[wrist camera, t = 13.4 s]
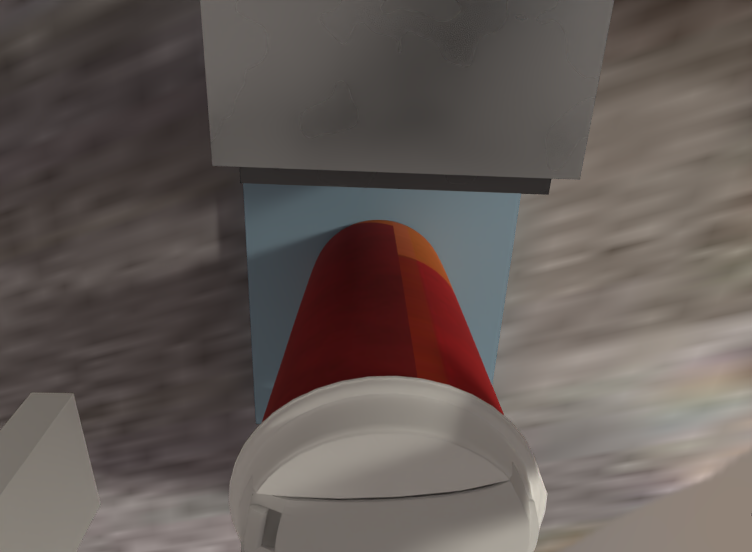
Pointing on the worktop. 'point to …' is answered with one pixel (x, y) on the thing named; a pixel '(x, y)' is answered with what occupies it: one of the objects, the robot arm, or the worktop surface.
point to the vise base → (353, 205)
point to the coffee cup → (384, 418)
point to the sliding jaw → (403, 91)
